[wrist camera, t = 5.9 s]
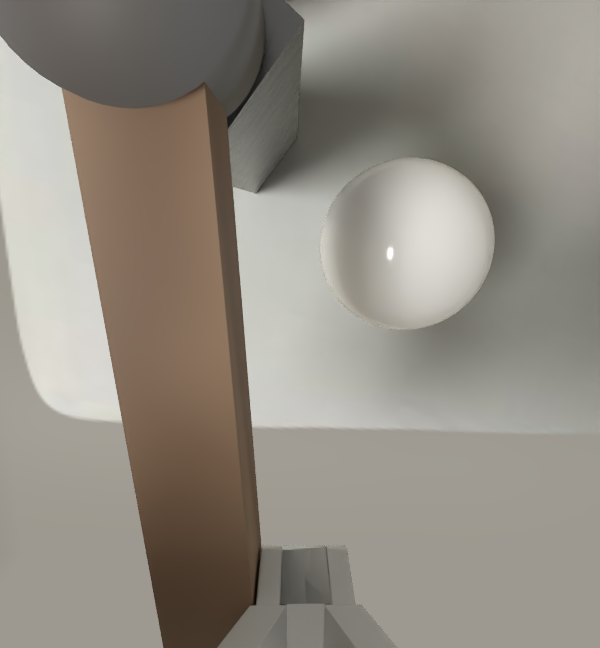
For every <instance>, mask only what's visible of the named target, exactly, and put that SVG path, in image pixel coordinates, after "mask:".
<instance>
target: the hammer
mask: <svg viewBox="0 0 600 648" xmlns="http://www.w3.org/2000/svg"><path fill="white" fill-rule="evenodd" d="M0 36H1V37H2V38H3V39H4V41H5V42H6V43H7V44H8V45H9V47H10V48H11V49H12V50H13V51H14V52H15V53H16V54H17V55H18V56H19V57H20V58H21V59H22V60H23V61H24V62H25V63H26V64H28V65H29V66H30V67H31V68H33V69H34V70H35V71H36V72H38V73H39V74H40V75H42V76H43V77H45V78H46V79H48V80H50V81H51V82H53V83H54V84H56V85H58V86H59V87H61V88H62V91H63V97H64V102H65V108H66V113H67V119H68V124H69V130H70V135H71V141H72V146H73V152H74V157H75V163H76V168H77V174H78V179H79V185H80V190H81V196H82V201H83V207H84V212H85V218H86V223H87V229H88V234H89V240H90V245H91V251H92V256H93V262H94V267H95V273H96V278H97V284H98V289H99V295H100V300H101V306H102V311H103V317H104V322H105V328H106V334H107V339H108V345H109V350H110V356H111V361H112V367H113V372H114V378H115V383H116V389H117V394H118V400H119V405H120V411H121V416H122V422H123V427H124V432H125V438H126V444H127V449H128V454H129V460H130V465H131V471H132V477H133V482H134V488H135V493H136V499H137V504H138V510H139V515H140V521H141V526H142V531H143V537H144V543H145V548H146V554H147V559H148V565H149V570H150V576H151V581H152V586H153V592H154V598H155V603H156V609H157V614H158V619H159V625H160V630H161V636H162V641H163V647H164V648H217V647H218V646H219V645H220V644H221V642H222V641H223V640H224V638H225V637H226V636H227V634H228V633H229V632H230V631H231V629H232V628H233V627H234V625H235V624H236V623H237V622H238V620H239V619H240V618H241V616H242V615H243V614H244V613H245V611H246V610H247V609H248V607H249V606H251V605H256V599H257V589H258V579H259V569H260V559H261V550H262V548H261V536H260V523H259V511H258V499H257V486H256V474H255V461H254V449H253V436H252V424H251V411H250V399H249V386H248V374H247V362H246V349H245V337H244V324H243V312H242V299H241V287H240V274H239V262H238V250H237V237H236V225H235V212H234V200H233V187H232V175H231V162H230V150H229V138H228V125H227V117H228V116H229V115H230V114H232V113H233V112H234V111H235V110H236V109H237V108H238V106H239V105H240V104H241V103H242V102H243V101H244V99H245V98H246V96H247V95H248V93H249V92H250V90H251V88H252V86H253V84H254V82H255V80H256V78H257V75H258V72H259V69H260V66H261V62H262V58H263V53H264V45H265V19H264V10H263V3H262V0H0Z"/></svg>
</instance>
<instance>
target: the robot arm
mask: <svg viewBox="0 0 600 648" xmlns="http://www.w3.org/2000/svg"><path fill="white" fill-rule="evenodd" d="M217 648H397V646H396V645H395V644H394V643H393V642H392V641H391V639H390V638H389V637H388V636H387V635H386V633H385V632H384V631H383V630H382V629H381V627H380V626H379V625H378V624H377V623H376V621H375V620H374V619H373V618H372V617H371V615H370V614H369V613H368V612H367V611H366V609H365V608H364V607H363V606H362V605H356V604H355V598H354V591H353V585H352V578H351V571H350V565H349V559H348V552H347V548H346V546H345V545H328V546H325V545H324V546H323V545H322V546H283V548H282V546H263V547H262V550H261V559H260V569H259V579H258V589H257V599H256V605H251V606H249V607H248V609H247V610H246V611H245V613H244V614H243V615H242V616H241V618H240V619H239V620H238V622H237V623H236V624H235V625H234V627H233V628H232V629H231V631H230V632H229V633H228V634H227V636H226V637H225V638H224V640H223V641H222V642H221V644H220V645H219V646H218V647H217Z"/></svg>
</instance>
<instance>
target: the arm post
mask: <svg viewBox="0 0 600 648" xmlns="http://www.w3.org/2000/svg"><path fill="white" fill-rule="evenodd" d="M262 3H263V10H264V19H265V45H264V53H263V58H262V62H261V66H260V69H259V72H258V75H257V78H256V80H255V82H254V84H253V86H252V88H251V90H250V92H249V93H248V95H247V96H246V98H245V99H244V101H243V102H242V103H241V104H240V105H239V106H238V108H237V109H236V110H235V111H234V112H233V113H232V114H230V115H229V116H228V117H227V125H228V138H229V150H230V162H231V175H232V186H233V187H236V188H239V189H243V190H246V191H249V192H253V193H256V192H257V191H258V190H259V188H260V187H261V186H262V184H263V183H264V182H265V180H266V179H267V178H268V176H269V175H270V173H271V172H272V171H273V169H274V168H275V167H276V165H277V164H278V163H279V161H280V160H281V159H282V157H283V156H284V155H285V153H286V152H287V151H288V149H289V148H290V147H291V145H292V144H293V143H294V141H295V140H296V138H297V126H298V111H299V95H300V80H301V64H302V49H303V33H304V19H303V18H302V17H301V16H300V15H299V14H298V13H297V12H296V11H295V10H294V9H293V8H292V7H291V6H289V5H288V4H287V3H286V2H285V1H284V0H262Z"/></svg>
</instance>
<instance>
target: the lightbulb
mask: <svg viewBox="0 0 600 648" xmlns="http://www.w3.org/2000/svg"><path fill="white" fill-rule="evenodd" d="M494 247H495V232H494V224H493V220H492V216H491V213H490V210H489V208H488V205H487V203H486V201H485V199H484V198H483V196H482V194H481V193H480V191H479V190H478V189H477V188H476V186H475V185H474V184H473V183H472V182H471V181H470V180H469V179H468V178H467V177H465V176H464V175H463V174H461V173H460V172H459V171H457V170H455V169H454V168H452V167H450V166H448V165H446V164H443V163H441V162H438V161H434V160H430V159H425V158H413V157H409V158H398V159H392V160H388V161H385V162H382V163H379V164H376V165H374V166H372V167H370V168H368V169H366V170H364V171H363V172H361V173H360V174H358V175H357V176H356V177H354V178H353V179H352V180H351V181H350V182H349V183H348V184H347V185H346V186H345V187H344V188H343V189H342V190H341V191H340V192H339V194H338V195H337V196H336V198H335V199H334V201H333V202H332V204H331V206H330V208H329V210H328V212H327V214H326V217H325V220H324V223H323V226H322V231H321V237H320V259H321V265H322V269H323V273H324V276H325V278H326V281H327V283H328V285H329V287H330V289H331V291H332V292H333V294H334V295H335V297H336V298H337V299H338V300H339V302H340V303H341V304H342V305H343V306H344V307H345V308H346V309H347V310H349V311H350V312H351V313H353V314H354V315H355V316H357V317H358V318H360V319H362V320H364V321H366V322H368V323H370V324H373V325H376V326H379V327H383V328H387V329H394V330H412V329H419V328H424V327H428V326H431V325H434V324H437V323H439V322H442V321H444V320H446V319H447V318H449V317H451V316H452V315H454V314H455V313H457V312H458V311H460V310H461V309H462V308H463V307H464V306H465V305H467V304H468V303H469V302H470V300H471V299H472V298H473V297H474V296H475V295H476V293H477V292H478V291H479V289H480V288H481V286H482V284H483V283H484V281H485V279H486V277H487V275H488V272H489V270H490V267H491V263H492V259H493V255H494Z"/></svg>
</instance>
